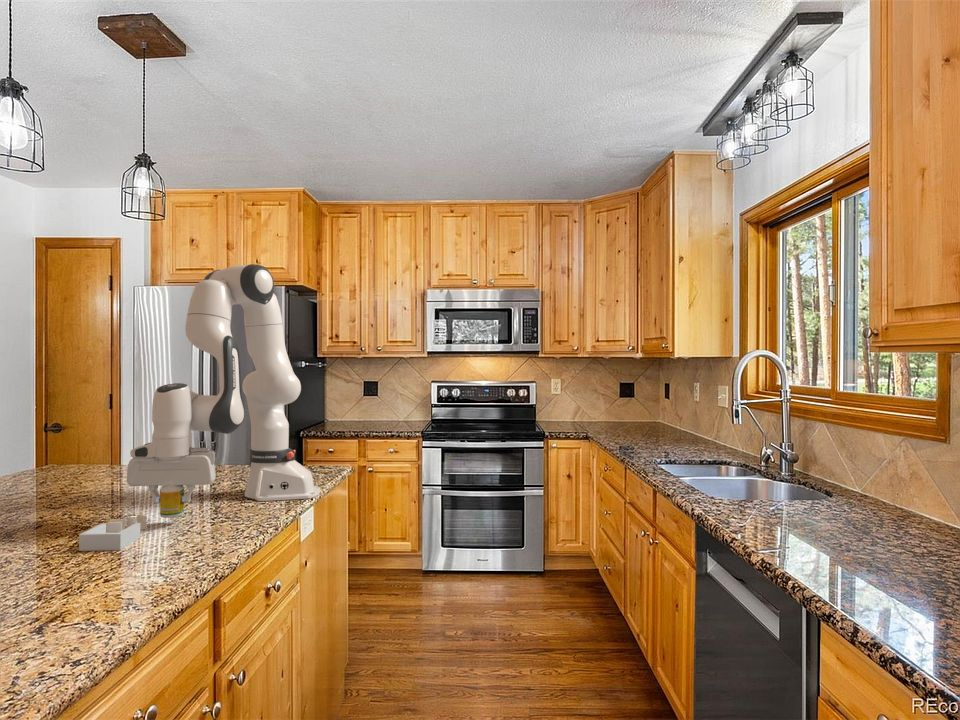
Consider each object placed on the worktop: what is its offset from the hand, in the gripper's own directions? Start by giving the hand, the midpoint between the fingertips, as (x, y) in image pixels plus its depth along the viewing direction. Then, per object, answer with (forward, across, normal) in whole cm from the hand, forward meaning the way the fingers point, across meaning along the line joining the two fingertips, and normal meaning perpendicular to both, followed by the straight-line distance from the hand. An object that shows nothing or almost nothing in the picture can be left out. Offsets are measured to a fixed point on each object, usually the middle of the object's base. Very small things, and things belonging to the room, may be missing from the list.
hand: (172, 502), depth 141 cm
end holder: (+5, +7, +15) cm, 17 cm away
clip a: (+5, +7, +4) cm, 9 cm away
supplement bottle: (+3, 0, 0) cm, 3 cm away
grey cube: (+5, +10, +7) cm, 13 cm away
